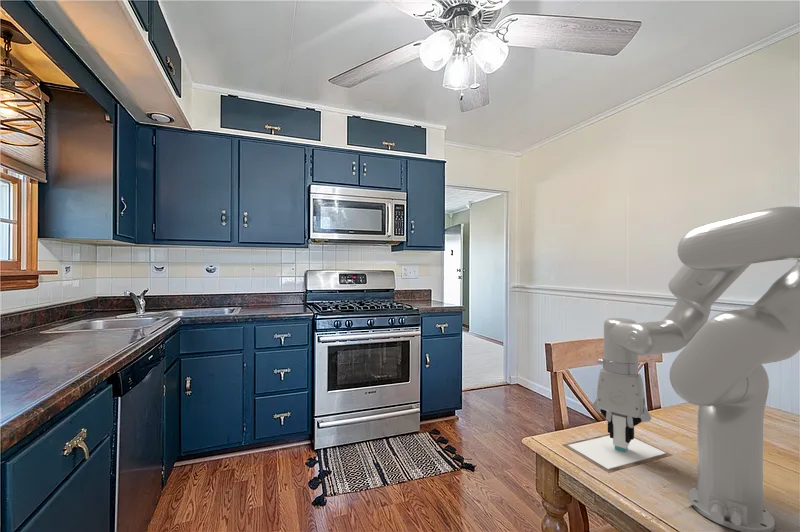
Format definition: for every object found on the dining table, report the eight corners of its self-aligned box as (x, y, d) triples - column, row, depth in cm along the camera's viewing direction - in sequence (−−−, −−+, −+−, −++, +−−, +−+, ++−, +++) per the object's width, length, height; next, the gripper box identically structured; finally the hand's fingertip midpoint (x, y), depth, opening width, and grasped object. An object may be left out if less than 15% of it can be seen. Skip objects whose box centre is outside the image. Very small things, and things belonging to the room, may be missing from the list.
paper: (622, 433, 103) (622, 432, 103) (666, 453, 92) (666, 452, 92) (567, 445, 96) (567, 445, 96) (608, 469, 85) (608, 468, 85)
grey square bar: (626, 453, 91) (625, 410, 91) (613, 449, 93) (612, 406, 93) (629, 448, 93) (628, 406, 93) (616, 444, 96) (615, 402, 95)
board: (621, 433, 104) (621, 431, 104) (673, 458, 91) (673, 454, 91) (561, 447, 96) (561, 444, 96) (608, 476, 83) (608, 472, 83)
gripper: (581, 363, 96) (581, 433, 96) (656, 377, 85) (656, 456, 85) (591, 358, 101) (591, 424, 101) (662, 370, 90) (662, 444, 90)
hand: (620, 438), depth 93 cm, fingers closed on grey square bar, 2 cm apart
